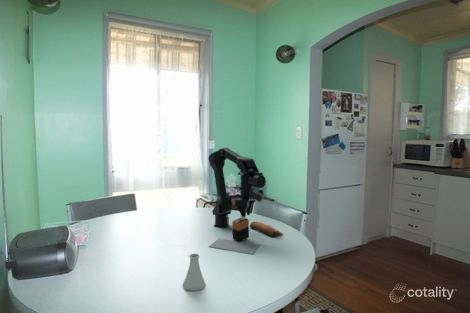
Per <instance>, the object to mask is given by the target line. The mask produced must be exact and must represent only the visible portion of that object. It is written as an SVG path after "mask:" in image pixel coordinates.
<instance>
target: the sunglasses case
mask: <svg viewBox="0 0 470 313" xmlns="http://www.w3.org/2000/svg"><path fill="white" fill-rule="evenodd" d="M249 229H254V230H257V231H260V232H262V233H264V234H266V235H267V236H268V235H269V236H270V237H273V238H277V237H282V236H284V235H285V234H284V233H283V232H281V231H280V230H278V229H276V228H274V227H273V226H271V225H270V224H266V223H264V222H260V221H251V223H250V224H249Z"/></svg>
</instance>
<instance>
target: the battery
mask: <svg viewBox="0 0 470 313" xmlns="http://www.w3.org/2000/svg"><path fill="white" fill-rule="evenodd" d="M249 223H250V220H249V219H248V218H246V217H244V216H241V217H239V218H237V219H234V220H233V221H232V240H233V241H238V242H243V241H244V240H247V239H249V237H250V224H249Z"/></svg>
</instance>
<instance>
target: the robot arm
mask: <svg viewBox="0 0 470 313" xmlns="http://www.w3.org/2000/svg"><path fill="white" fill-rule="evenodd" d="M226 160H228V161H230V162H232V163H234V164H235V165H236V167H237V169H238V170H240V171H239V172H238V173H237V175H238V176H240V186H238V189H239V190H240V195H238V198H236V199H235V200H234V201H232V198H231V197H230V196H228V194H227V187H226V180H225V174H224V167H225V164H226V163H225V162H226ZM208 162H209V166H210V168H212V169H213V174H214V180H215V181H214V182H215V186H216V194H217V198H216V200H215V206H214V208H213V209H212V212H211V213H212V215H214V225H213V227H217V228H224V229H225V228H226V227H228V226H229V225H230V222H229V221H230V217H229V215H231V213H232V211H233V210H232V209H233V206H235V207H237V210H238V212H239V213H240V216H241V217H242V216H244V217H245V218H246V216H250V214H251V211H252V207H253V204H254V203H255V202H256V201H257V202H259V203H261V202H262V201H263V200H264V198H265V193H264V190H263V189H261V188H263V187H265V185H266V183H267V179H266V177H265V176H264V174H263V172H260V171H259V168H258V166H257V165H256V161H255V160H254V158H250V157H245V156H242V155H240V154H239V153H237V152H235V151H233V150H231V149H230V148H229V147H221V148H219V149H218V150H215V151H213V152H212V153H210V154H209V156H208ZM255 188H259V190H255Z"/></svg>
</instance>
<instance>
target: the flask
mask: <svg viewBox="0 0 470 313" xmlns="http://www.w3.org/2000/svg"><path fill="white" fill-rule="evenodd" d="M188 257H189V266H188V269H187V272H186V276H185V278H184V281H183V282H182V287H183V289H184V291H189V292H190V291H192V292H195V291H200V290H203V289H204V288H205V286H206V282H205V279H204V277H203V274H202V271H201V267H200V264H199V263H200V262H199V258H200V253H190V254H189V255H188Z"/></svg>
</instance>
